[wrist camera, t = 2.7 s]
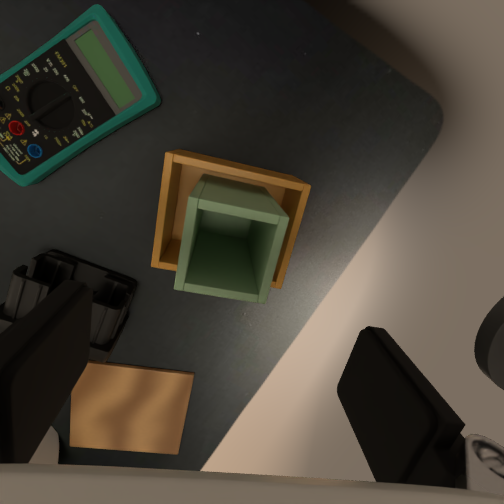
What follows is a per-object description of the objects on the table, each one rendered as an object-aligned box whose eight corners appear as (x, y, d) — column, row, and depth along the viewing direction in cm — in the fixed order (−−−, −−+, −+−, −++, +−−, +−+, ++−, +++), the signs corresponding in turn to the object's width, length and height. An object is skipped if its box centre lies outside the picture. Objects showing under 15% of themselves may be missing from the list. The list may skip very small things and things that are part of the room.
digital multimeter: (-32, 111, 25) (-64, 108, 22) (112, 11, 23) (96, -5, 21) (33, 187, 28) (11, 193, 25) (166, 102, 26) (159, 98, 23)
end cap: (29, 302, 32) (-20, 343, 25) (45, 245, 30) (-3, 274, 23) (122, 333, 34) (98, 377, 28) (143, 282, 32) (123, 317, 26)
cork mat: (194, 372, 37) (194, 375, 36) (178, 451, 41) (177, 454, 41) (74, 358, 35) (72, 361, 34) (71, 442, 39) (69, 446, 39)
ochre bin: (293, 175, 29) (311, 185, 23) (270, 260, 32) (281, 289, 26) (178, 148, 27) (165, 151, 21) (165, 241, 30) (150, 266, 24)
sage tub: (264, 187, 29) (289, 217, 18) (251, 244, 31) (265, 304, 20) (203, 173, 28) (188, 196, 17) (193, 233, 30) (173, 289, 19)
